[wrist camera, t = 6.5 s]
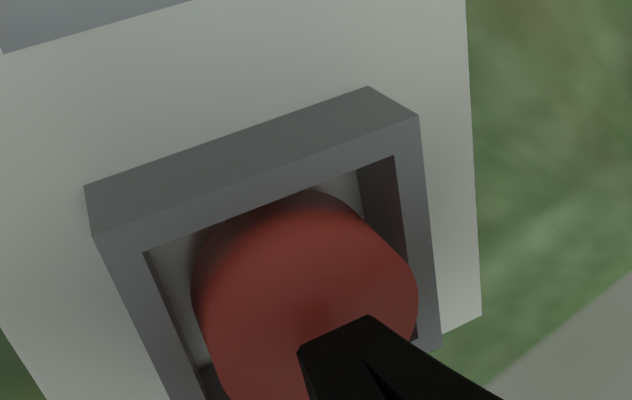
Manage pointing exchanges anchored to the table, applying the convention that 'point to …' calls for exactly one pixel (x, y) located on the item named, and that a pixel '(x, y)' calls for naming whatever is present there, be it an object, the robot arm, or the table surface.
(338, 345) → the robot arm
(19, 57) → the button panel
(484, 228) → the table surface
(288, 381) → the red button
